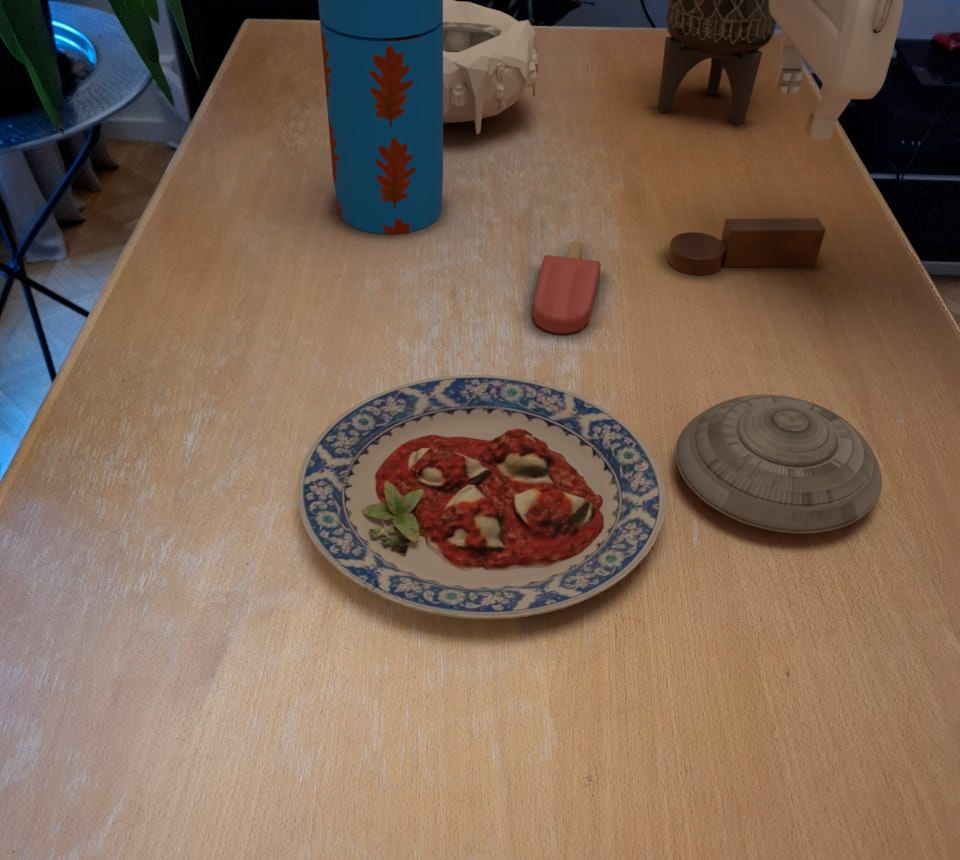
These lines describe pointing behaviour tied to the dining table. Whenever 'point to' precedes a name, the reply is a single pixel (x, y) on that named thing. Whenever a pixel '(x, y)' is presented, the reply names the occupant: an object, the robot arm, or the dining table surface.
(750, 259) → the brown cylinder and block
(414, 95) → the thermos
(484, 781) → the dining table surface
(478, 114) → the bowl
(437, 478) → the ceramic plate
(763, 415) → the flying saucer
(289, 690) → the dining table surface
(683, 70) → the planter
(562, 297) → the popsicle
